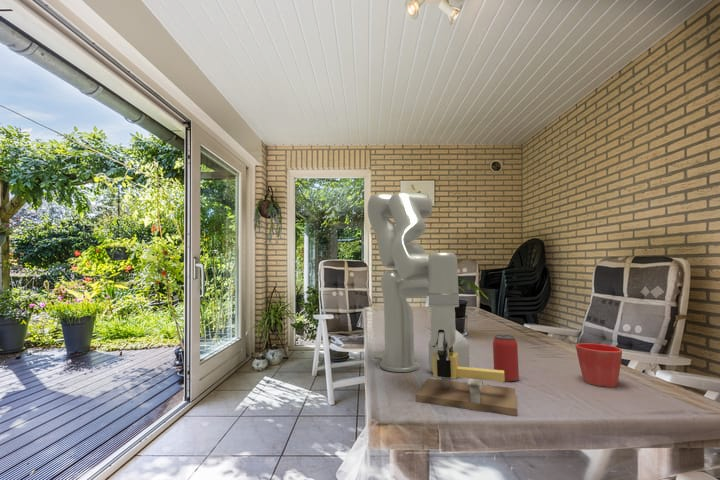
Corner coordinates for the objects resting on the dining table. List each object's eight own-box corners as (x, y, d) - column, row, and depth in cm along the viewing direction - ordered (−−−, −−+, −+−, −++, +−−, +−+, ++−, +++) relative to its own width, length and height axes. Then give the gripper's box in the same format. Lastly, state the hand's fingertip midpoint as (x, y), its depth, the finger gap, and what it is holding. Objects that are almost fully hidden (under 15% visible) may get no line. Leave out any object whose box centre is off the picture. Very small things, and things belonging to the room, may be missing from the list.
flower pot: (618, 379, 97) (616, 344, 98) (629, 391, 87) (626, 352, 88) (575, 374, 102) (573, 341, 103) (581, 386, 92) (578, 349, 93)
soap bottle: (426, 372, 105) (424, 297, 107) (448, 367, 110) (446, 296, 112) (450, 380, 97) (447, 299, 99) (472, 374, 102) (470, 298, 104)
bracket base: (415, 401, 81) (415, 371, 82) (428, 383, 94) (427, 357, 95) (517, 416, 73) (515, 382, 74) (515, 394, 86) (514, 365, 86)
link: (433, 376, 84) (432, 355, 85) (437, 370, 89) (436, 351, 90) (504, 383, 78) (503, 361, 79) (504, 377, 83) (503, 356, 83)
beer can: (514, 375, 101) (512, 334, 102) (522, 382, 95) (520, 338, 96) (491, 375, 102) (489, 334, 103) (498, 382, 95) (496, 338, 97)
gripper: (435, 298, 97) (437, 364, 95) (421, 302, 81) (423, 381, 79) (462, 298, 94) (465, 366, 92) (454, 303, 78) (457, 385, 76)
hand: (446, 372), depth 86 cm, fingers closed on link, 5 cm apart
